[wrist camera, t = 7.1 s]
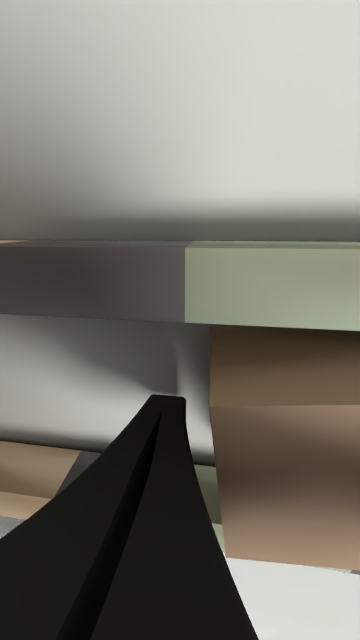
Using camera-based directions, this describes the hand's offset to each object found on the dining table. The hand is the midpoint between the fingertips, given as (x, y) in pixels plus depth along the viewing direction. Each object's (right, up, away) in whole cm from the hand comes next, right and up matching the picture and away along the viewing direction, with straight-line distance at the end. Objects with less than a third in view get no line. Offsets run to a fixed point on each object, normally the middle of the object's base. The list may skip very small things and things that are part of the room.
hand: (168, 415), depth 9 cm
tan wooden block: (+5, +1, +1) cm, 5 cm away
